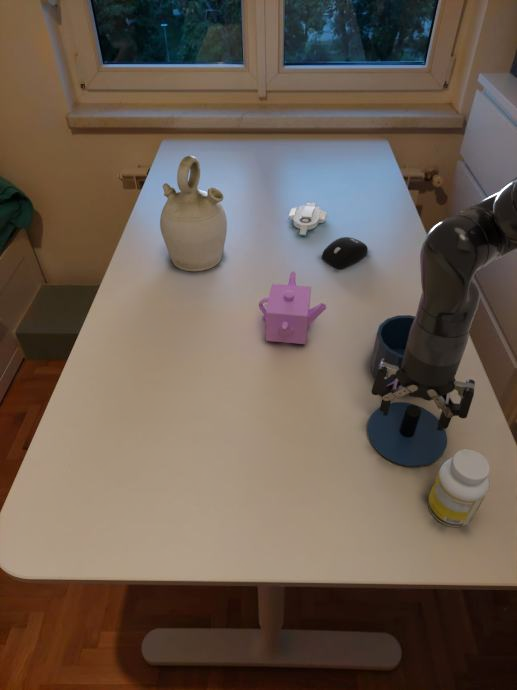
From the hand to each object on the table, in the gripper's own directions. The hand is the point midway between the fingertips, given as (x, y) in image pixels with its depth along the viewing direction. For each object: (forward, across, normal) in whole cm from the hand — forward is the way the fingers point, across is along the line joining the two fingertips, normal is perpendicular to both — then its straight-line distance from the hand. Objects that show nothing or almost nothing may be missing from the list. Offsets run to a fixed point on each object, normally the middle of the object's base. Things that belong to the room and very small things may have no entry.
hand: (412, 419), depth 80 cm
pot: (+4, -3, +15) cm, 16 cm away
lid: (+4, 0, 0) cm, 4 cm away
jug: (+4, -56, +36) cm, 67 cm away
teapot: (+4, -26, +18) cm, 32 cm away
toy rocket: (+4, -36, +62) cm, 72 cm away
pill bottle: (+4, +8, -11) cm, 14 cm away
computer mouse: (+4, -22, +49) cm, 54 cm away
